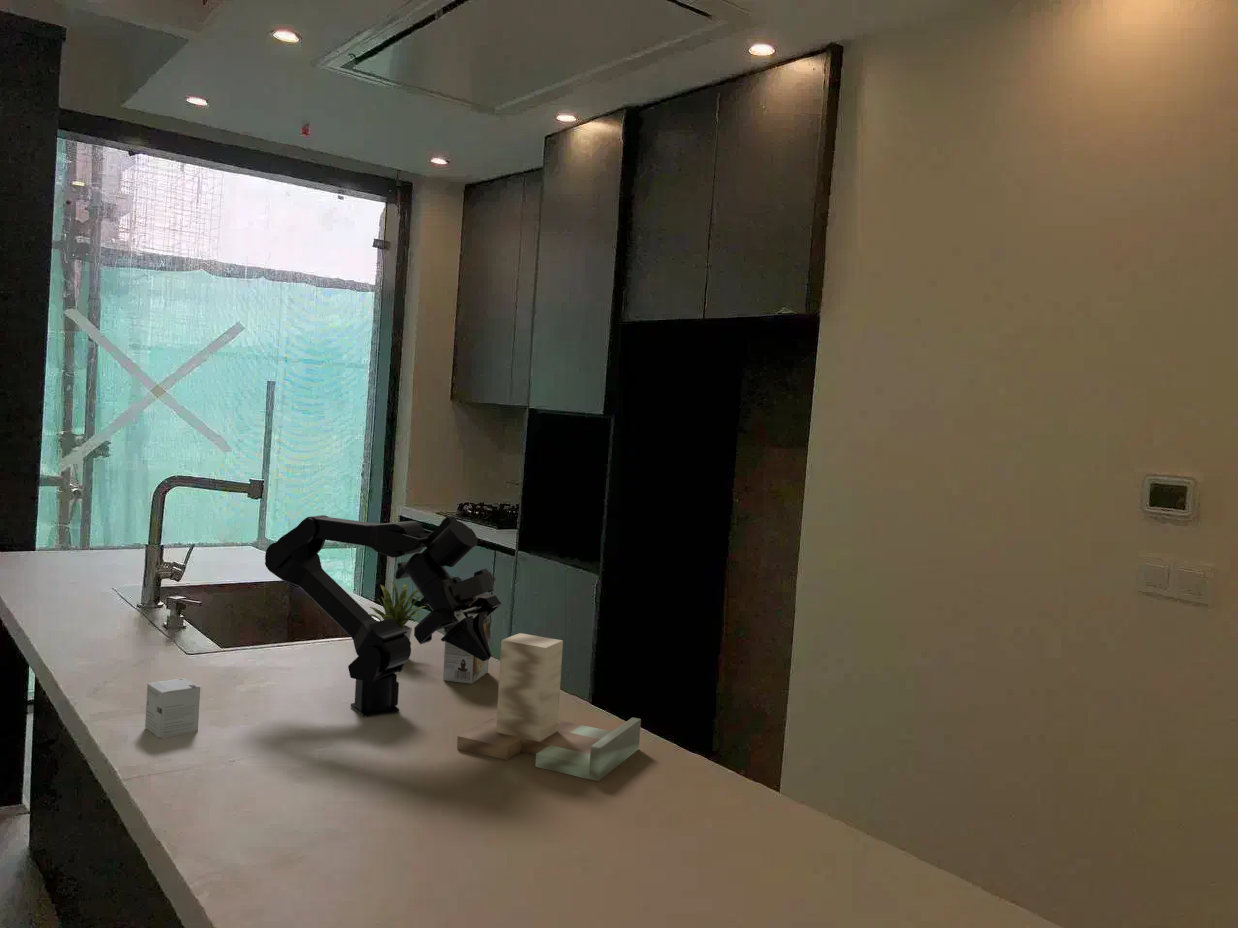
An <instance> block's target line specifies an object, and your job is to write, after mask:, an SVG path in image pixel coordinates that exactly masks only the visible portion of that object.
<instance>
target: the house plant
mask: <svg viewBox="0 0 1238 928" xmlns="http://www.w3.org/2000/svg"><path fill="white" fill-rule="evenodd" d="M390 582H391V585H392V587H393V589H394V598H395V600H394V602H395V603H394V604H393V600H392V594H391V593H390V592H389V591H388V590H387V589H386V587H385V586H384V585H383V584H379V585H380V588H381V590H382V593H383V596H382V595H381V599H382V602H383V604H382V602H381V601H380V600H378V602H379V603H380V604H381V606H382V608H383V609H384V612H383V611H382V610H380V609H378V608H376V607H373V606H369V608H370V609H372V610H373V611H374V612H375V613H376V614H378V615H379V616H380V617H381V618H380V617H379V616H378V615H376V614H373V613H371V614H370V613H368V614H369V615H370V616H371V617H372V618H374V619H376V620H378V621H382V620H385V619H389V618H391V619H392V620H394V621H395V622H396V624H397V625H398V626H399V627H400V628H401V629H402V630H404V631H407V633H406V634H405V635H406V636H407V637H408V638H409V640H411V635H412V631H413V627H412V626H409V625H407V623H408V622H409V621H410V622H414V623H416V622H415V621H416V620H415V619H414V618H412V617H413V616H414V617H416V618H419V617H420V615H419V614H420V610H421V609H422V608H425V607H427V605H424V606H420V607H418V608H416V609H414V608H413V607H414V605H415V604H416V602H418V600H420V599H422V598H423V596H422V595H421V593H420V592H419V591H418V589H417V588H416V590H415V591H413V592H412V593H411V594H410V595H409V593H407V592H408V588H407V583H404V584H403V586H402V589H401V592H400V594H399V591H398V589H397V587H396V585H395V584H394V582H393V581H392V580H391V579H390ZM365 591H366V592H368V593H370V594H371V595H373V593H372V592H370V591H369V590H365ZM417 593H418V594H417ZM408 595H409V596H408ZM415 595H416V596H415ZM419 595H420V596H419ZM417 596H418V597H417ZM414 599H415V600H414ZM405 601H406V602H405ZM410 604H411V605H410ZM408 607H409V608H408ZM412 611H413V612H412ZM410 612H411V613H410ZM416 612H418V613H416ZM409 613H410V614H409ZM408 614H409V615H408Z"/></svg>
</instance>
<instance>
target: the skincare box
mask: <svg viewBox="0 0 1238 928" xmlns="http://www.w3.org/2000/svg"><path fill="white" fill-rule="evenodd" d="M200 699H201V687H200V686H199V685H198V684H196V683H195V682H193V681H191V680H189V679H187V678H185V677H181V678H174V679H168V680H160V681H152V682H148V683H147V685H146V702H145V703H146V705H145V718H144V720H145V723H144V728H145V729H147V730H148V731H149V732H151V733H152V734H153V735H155V736H156V737H157V738H158V739H165V738H166V739H167V738H170V737H176V736H179V735H186V734H191V733H195V732H198V731H199V718H200Z"/></svg>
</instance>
